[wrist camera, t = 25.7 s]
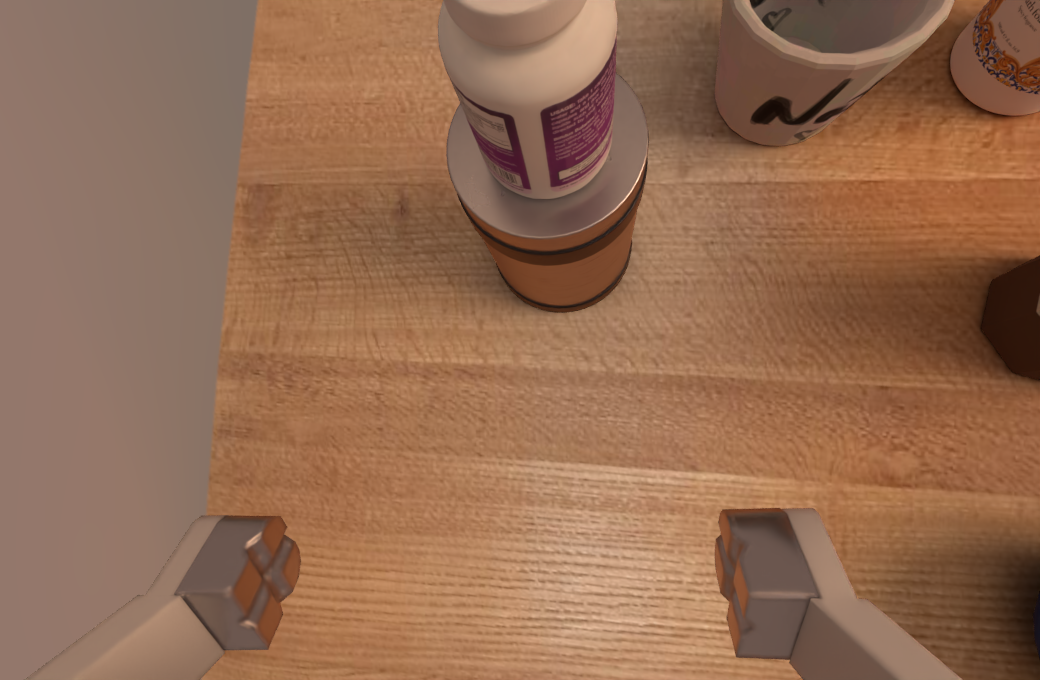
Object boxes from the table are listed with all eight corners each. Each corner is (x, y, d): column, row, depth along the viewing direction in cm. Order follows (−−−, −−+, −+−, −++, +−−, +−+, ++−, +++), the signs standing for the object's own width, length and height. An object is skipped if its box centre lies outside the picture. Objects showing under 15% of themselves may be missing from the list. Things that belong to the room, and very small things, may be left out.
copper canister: (520, 331, 35) (478, 271, 23) (479, 211, 37) (419, 92, 24) (651, 285, 35) (684, 196, 22) (603, 164, 36) (607, 18, 24)
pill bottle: (603, 74, 23) (610, -172, 14) (619, 193, 22) (637, 15, 13) (476, 94, 24) (401, -128, 15) (486, 211, 23) (411, 53, 14)
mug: (729, 194, 35) (781, 99, 25) (641, 3, 38) (657, -148, 28) (893, 132, 34) (1012, 10, 25) (790, -57, 38) (859, -232, 28)
